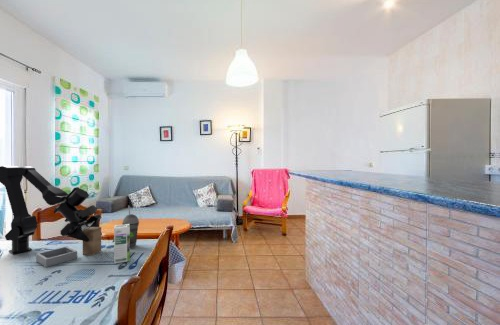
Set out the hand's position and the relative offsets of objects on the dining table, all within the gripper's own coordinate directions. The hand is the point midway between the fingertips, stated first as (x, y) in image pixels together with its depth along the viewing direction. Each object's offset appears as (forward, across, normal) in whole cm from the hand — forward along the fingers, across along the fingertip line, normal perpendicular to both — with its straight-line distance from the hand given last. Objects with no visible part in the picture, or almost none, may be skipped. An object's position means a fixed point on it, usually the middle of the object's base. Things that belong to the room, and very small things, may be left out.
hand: (95, 238), depth 109 cm
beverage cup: (+13, +9, -3) cm, 16 cm away
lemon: (+13, +1, -4) cm, 14 cm away
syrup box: (+17, -7, -7) cm, 19 cm away
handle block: (+4, 0, +6) cm, 7 cm away
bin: (-3, -8, +12) cm, 15 cm away
